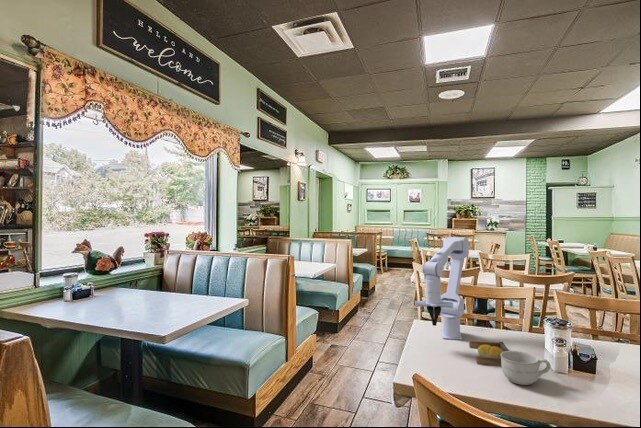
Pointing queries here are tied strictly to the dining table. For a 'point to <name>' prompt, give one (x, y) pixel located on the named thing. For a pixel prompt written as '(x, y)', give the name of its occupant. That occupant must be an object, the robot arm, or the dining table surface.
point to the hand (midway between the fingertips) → (434, 324)
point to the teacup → (522, 367)
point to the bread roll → (489, 351)
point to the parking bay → (488, 359)
